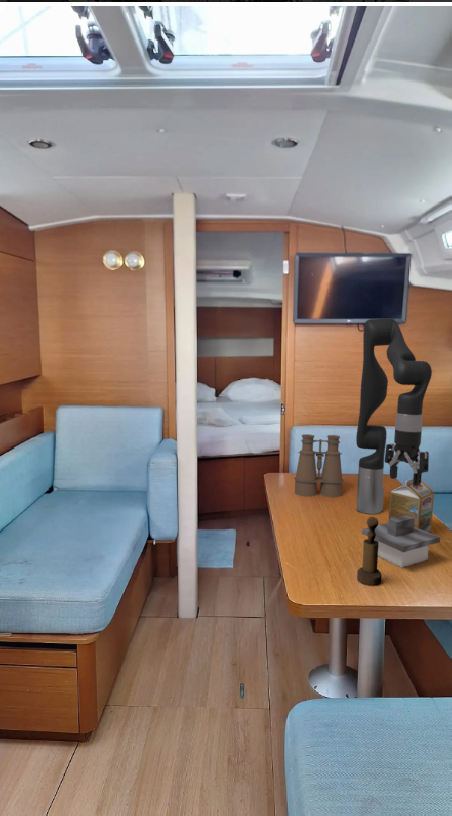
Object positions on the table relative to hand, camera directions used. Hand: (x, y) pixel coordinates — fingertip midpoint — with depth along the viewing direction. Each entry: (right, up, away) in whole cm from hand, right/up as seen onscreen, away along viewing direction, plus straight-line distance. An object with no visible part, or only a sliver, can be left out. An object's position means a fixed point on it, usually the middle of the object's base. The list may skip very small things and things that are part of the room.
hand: (404, 481), depth 159 cm
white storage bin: (-1, -23, +3) cm, 24 cm away
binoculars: (-14, -15, +67) cm, 70 cm away
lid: (0, -17, +2) cm, 18 cm away
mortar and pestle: (-14, -26, -13) cm, 32 cm away
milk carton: (+10, -21, +25) cm, 34 cm away
